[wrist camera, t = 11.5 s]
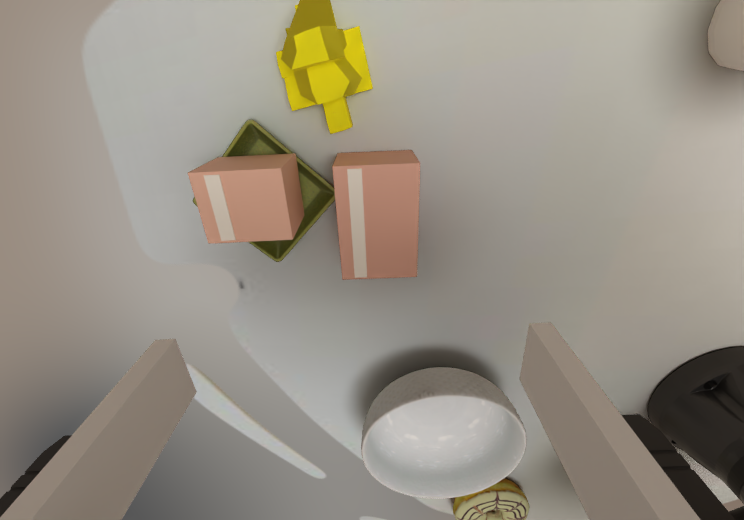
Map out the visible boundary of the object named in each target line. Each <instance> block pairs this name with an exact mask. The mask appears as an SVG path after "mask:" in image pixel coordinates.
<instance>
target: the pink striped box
mask: <svg viewBox="0 0 744 520" xmlns="http://www.w3.org/2000/svg"><path fill="white" fill-rule="evenodd" d="M332 168H333V179H334V190H335V202H336V213H337V224H338V235H339V246H340V257H341V268H342V280H346V279H372V278H398V277H417V258H418V222H419V185H420V162H419V161H418V159H417V157H416V156H415V154H414V153H413V151H412V150H399V151H374V152H350V153H338V154H337V156H336V159H335V161H334V164H333V166H332Z"/></svg>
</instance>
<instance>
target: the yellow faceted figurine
mask: <svg viewBox="0 0 744 520" xmlns="http://www.w3.org/2000/svg"><path fill="white" fill-rule="evenodd" d="M295 9H296V13H295V15H294V18H293V21H292V24H291V26H290V28H285V29H286V32H287V37H286V40H285V44H284V48H283V50H282V51H279V52H276V55H277V61H278V66H279V69H280V72H281V75H282V78H284V79H285V84H286V89H287V94H288V99H289V102H290V105H291V109H292V111H295V110H298V109H301V108H305V107H308V106H312V105H315V104H318V105H319V104H323V106H324V111H325V115H326V120H327V124H328V127H329V131H330V134H333V133H336V132H340V131H343V130H346V129H348V128H351V127H352V126H353V124H352V120H351V116H350V113H349V109H348V105H347V101H346V96H350V95H353V94H355V93H359V92H362V91H366V90H369V89H373V87H372V83H371V78H370V74H369V69H368V64H367V60H366V55H365V51H364V46H363V42H362V37H361V33H360V28H359V26H358V27H355V28H351V29H348V30H345V31H343V29H337V26H336V22H335V18H334V14H333V10H332V6H331V2H330V0H300V1H299V4H298V5H295Z"/></svg>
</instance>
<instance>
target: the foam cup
mask: <svg viewBox="0 0 744 520" xmlns="http://www.w3.org/2000/svg"><path fill="white" fill-rule="evenodd" d="M707 33H708V52H709V53H710V55H711V56H712V58H713V59H714V60H715V62H716V63H717V64H718V65H719V66H723V67H727V68H731V69H734V70H741V71H744V0H721V1H720V2H719V4H718V5H717V6H716V9H715V11H714V14H713V17H712V20H711V23H710V25H709V28H708V31H707Z"/></svg>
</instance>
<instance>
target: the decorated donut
mask: <svg viewBox="0 0 744 520" xmlns="http://www.w3.org/2000/svg"><path fill="white" fill-rule="evenodd" d="M529 507H530V506H529V503H528V501H527V498H526V496H525V495H524V493H523V492H522V491H521V489H520V488H519V487H518V486H517V485H516V484H515V483H514V482H512V481H510V480H508V479H505V478H504V479H502V480H501V481H499V482H498V483H496V484H494V485H492V486H490V487H488V488H486V489H484V490H482V491H479V492H476V493H473V494H469V495H465V496H460V497H455V500H454V505H453V513H454V515H455V518H456V520H525V519H526V517H527V515H528V511H529Z"/></svg>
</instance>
